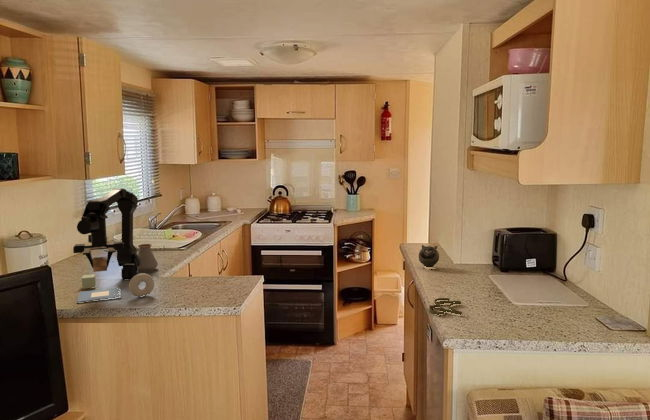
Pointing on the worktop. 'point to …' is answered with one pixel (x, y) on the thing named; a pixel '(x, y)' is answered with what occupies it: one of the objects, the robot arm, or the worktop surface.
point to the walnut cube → (99, 264)
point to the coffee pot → (146, 258)
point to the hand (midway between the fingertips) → (100, 267)
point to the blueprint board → (98, 294)
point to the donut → (139, 278)
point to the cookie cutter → (443, 308)
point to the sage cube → (88, 281)
